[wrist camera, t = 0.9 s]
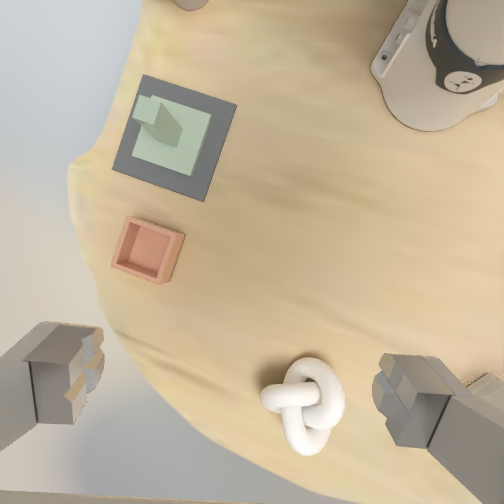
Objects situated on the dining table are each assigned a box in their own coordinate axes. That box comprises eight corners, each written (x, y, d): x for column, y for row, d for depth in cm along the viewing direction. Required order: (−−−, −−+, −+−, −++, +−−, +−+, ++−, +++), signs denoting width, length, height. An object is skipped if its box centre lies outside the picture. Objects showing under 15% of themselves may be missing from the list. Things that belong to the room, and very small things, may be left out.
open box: (140, 218, 50) (127, 215, 45) (185, 234, 49) (176, 233, 45) (125, 264, 50) (110, 266, 45) (169, 281, 49) (159, 284, 45)
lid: (154, 98, 49) (123, 59, 39) (212, 117, 48) (195, 83, 38) (134, 157, 49) (98, 135, 39) (191, 177, 48) (170, 159, 38)
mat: (144, 75, 49) (143, 74, 49) (236, 105, 48) (236, 104, 48) (113, 169, 50) (111, 169, 49) (203, 201, 49) (203, 201, 48)
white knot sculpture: (295, 333, 48) (299, 353, 39) (357, 380, 48) (376, 411, 39) (252, 388, 49) (248, 420, 40) (313, 435, 48) (322, 478, 39)
